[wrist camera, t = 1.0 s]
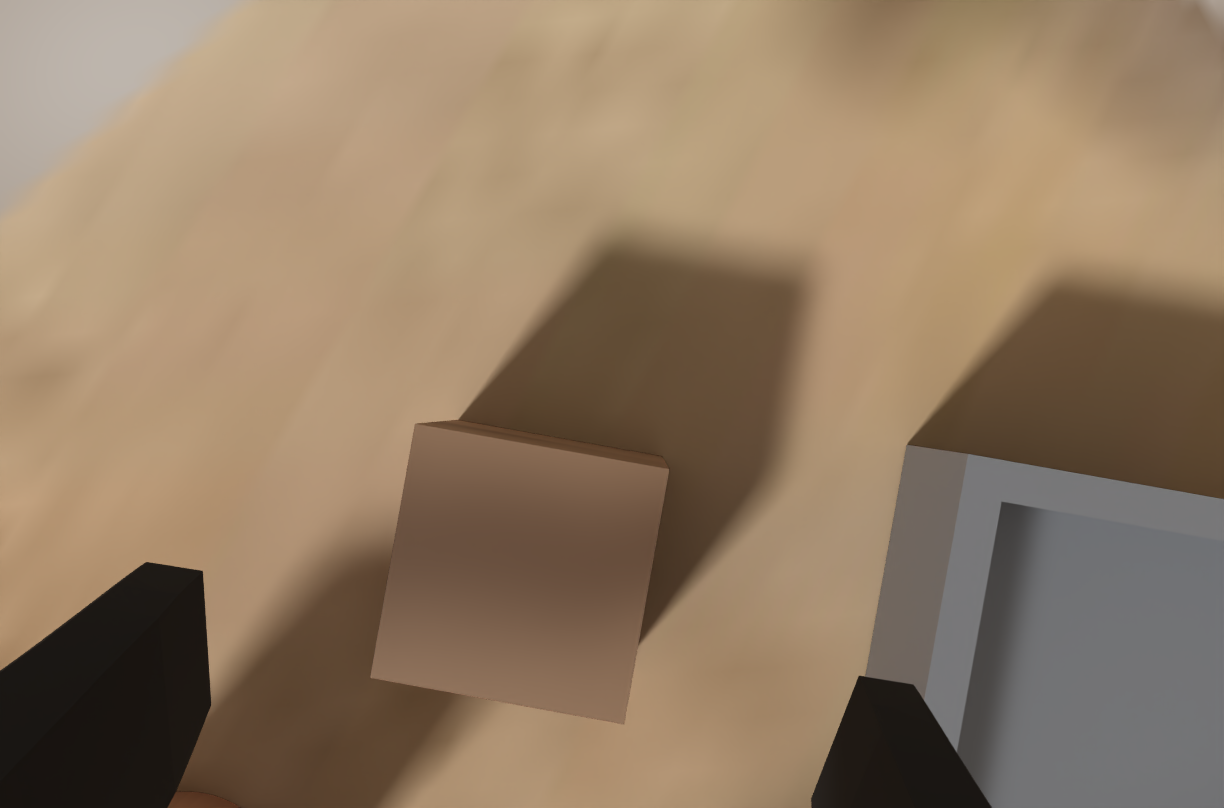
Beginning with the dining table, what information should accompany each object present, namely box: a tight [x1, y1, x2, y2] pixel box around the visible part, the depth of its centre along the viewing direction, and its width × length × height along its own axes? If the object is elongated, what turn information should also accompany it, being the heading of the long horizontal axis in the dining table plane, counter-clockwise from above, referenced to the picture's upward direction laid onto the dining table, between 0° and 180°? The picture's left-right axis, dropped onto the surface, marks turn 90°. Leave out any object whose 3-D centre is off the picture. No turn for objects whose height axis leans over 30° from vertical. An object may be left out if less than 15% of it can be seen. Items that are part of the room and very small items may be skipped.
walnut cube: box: [370, 420, 669, 724], centre depth 22 cm, size 5×5×5 cm
